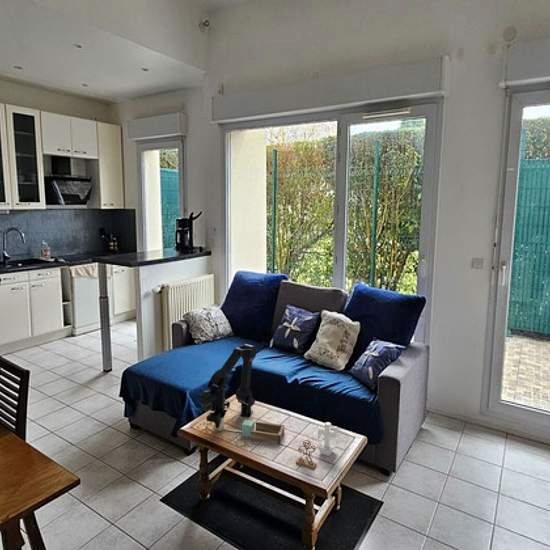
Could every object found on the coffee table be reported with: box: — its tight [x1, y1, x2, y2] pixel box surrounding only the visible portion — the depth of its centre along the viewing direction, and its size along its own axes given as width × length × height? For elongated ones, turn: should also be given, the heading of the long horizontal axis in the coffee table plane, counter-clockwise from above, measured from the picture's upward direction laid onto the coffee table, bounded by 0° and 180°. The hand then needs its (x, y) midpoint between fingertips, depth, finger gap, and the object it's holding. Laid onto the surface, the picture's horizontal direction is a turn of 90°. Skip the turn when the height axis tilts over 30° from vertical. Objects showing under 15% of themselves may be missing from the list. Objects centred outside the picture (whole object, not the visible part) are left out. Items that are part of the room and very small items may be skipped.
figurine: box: [316, 421, 338, 457], centre depth 199 cm, size 7×9×15 cm
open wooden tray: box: [250, 420, 285, 445], centre depth 213 cm, size 10×15×4 cm
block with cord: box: [216, 417, 255, 438], centre depth 216 cm, size 5×19×6 cm, turn 76°
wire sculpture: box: [295, 439, 317, 471], centre depth 190 cm, size 9×4×12 cm, turn 63°
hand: (218, 426), depth 218 cm, fingers closed on block with cord, 3 cm apart
